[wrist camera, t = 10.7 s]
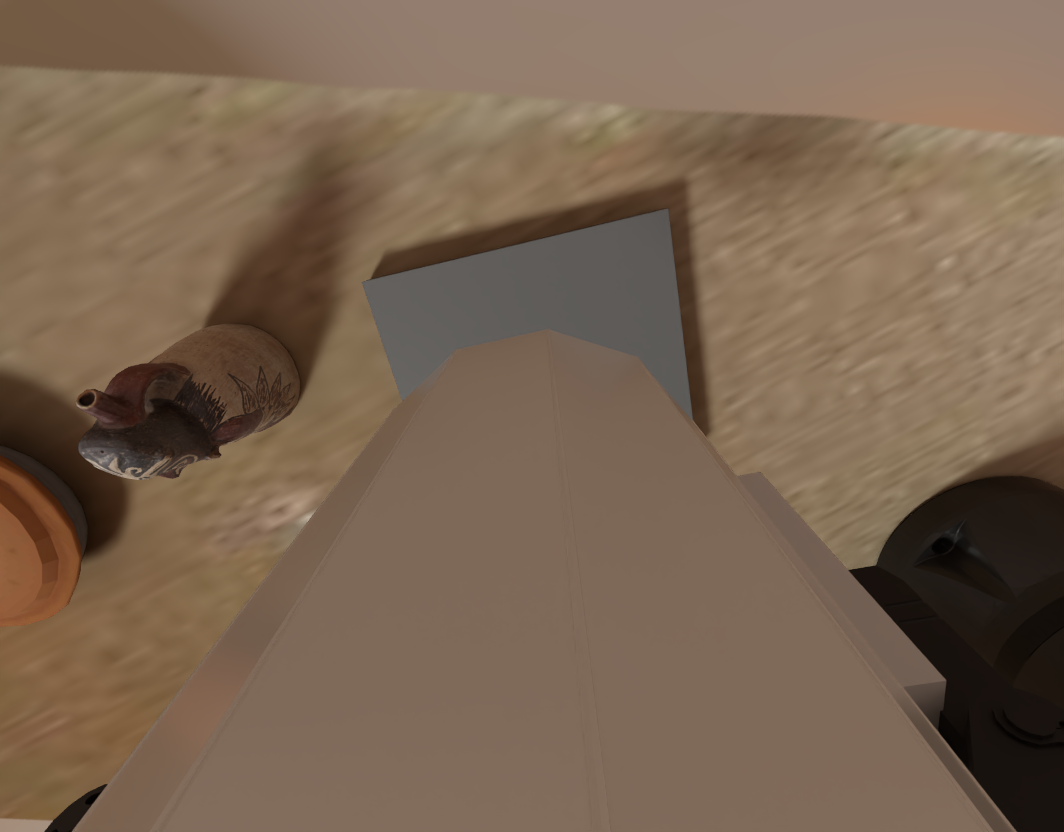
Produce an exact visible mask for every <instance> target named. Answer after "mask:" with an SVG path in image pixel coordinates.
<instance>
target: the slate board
mask: <svg viewBox="0 0 1064 832" xmlns="http://www.w3.org/2000/svg"><path fill="white" fill-rule="evenodd" d="M362 284H363V287H364V290H365V293H366V296H367V299H368V302H369V305H370V308H371V311H372V314H373V317H374V319H375V322H376V325H377V328H378V331H379V334H380V337H381V340H382V343H383V346H384V349H385V352H386V355H387V358H388V360H389V363H390V366H391V369H392V372H393V375H394V378H395V381H396V384H397V387H398V390H399V393H400V396H401V399H402V401H403V400H404V399H405V398H406V397H407V396H408V395H409V394H411V393H412V392H413V391H414V390H415V389H416V388H417V387H418V386H419V385H420V384H421V383H422V382H423V381H424V380H425V379H426V378H427V377H428V376H429V375H430V374H431V373H432V372H434V371H435V370H436V369H437V368H438V367H439V366H440V365H441V364H442V363H443V362H444V361H445V360H446V359H447V358H448V357H449V356H450V355H451V354H452V353H453V352H454V351H455V350H457V349H462V348H466V347H470V346H475V345H479V344H484V343H488V342H493V341H497V340H502V339H506V338H511V337H515V336H520V335H524V334H529V333H533V332H538V331H542V330H546V329H550V330H552V331H556V332H559V333H562V334H565V335H568V336H572V337H575V338H578V339H581V340H584V341H588V342H591V343H594V344H597V345H601V346H604V347H607V348H610V349H613V350H617V351H620V352H623V353H626V354H629V355H633V356H637V357H639V359H640V360H641V361H642V363H643V364H644V365H645V367H646V368H647V369H648V370H649V371H650V372H651V374H652V375H653V376H654V377H655V378H656V379H657V380H658V382H659V383H660V384H661V385H662V386H663V387H664V388H665V390H666V391H667V392H668V393H669V394H670V395H671V397H672V398H673V399H674V400H675V401H676V402H677V403H678V405H679V406H680V407H681V408H682V409H683V410H684V411H685V413H686V414H687V415H688V416H689V417H690V418H691V419H692V420H693V417H692V408H691V400H690V391H689V382H688V374H687V365H686V357H685V348H684V340H683V331H682V322H681V314H680V305H679V297H678V288H677V280H676V271H675V262H674V254H673V245H672V237H671V228H670V220H669V211H668V209H661V210H657V211H653V212H649V213H644V214H640V215H636V216H632V217H628V218H624V219H619V220H615V221H611V222H607V223H603V224H599V225H594V226H590V227H586V228H582V229H578V230H574V231H569V232H565V233H561V234H557V235H553V236H549V237H544V238H540V239H536V240H532V241H528V242H524V243H519V244H515V245H511V246H507V247H503V248H499V249H494V250H490V251H486V252H482V253H478V254H474V255H470V256H465V257H461V258H457V259H453V260H449V261H445V262H440V263H436V264H432V265H428V266H424V267H420V268H415V269H411V270H407V271H403V272H399V273H395V274H390V275H386V276H382V277H378V278H374V279H370V280H367V281H364V282H362Z"/></svg>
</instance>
